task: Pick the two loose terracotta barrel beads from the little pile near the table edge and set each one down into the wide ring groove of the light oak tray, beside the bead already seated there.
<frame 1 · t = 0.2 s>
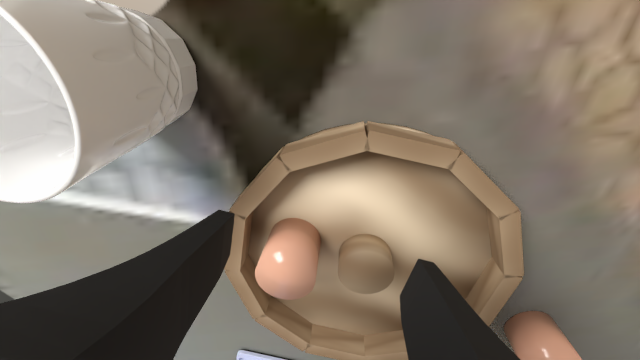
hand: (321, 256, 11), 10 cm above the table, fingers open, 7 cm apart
white cup: (149, 71, 19), on the table
bead c: (295, 239, 23), point 1 cm above the table, touching ring tray
ring tray: (364, 248, 23), on the table
bead b: (528, 326, 25), on the table
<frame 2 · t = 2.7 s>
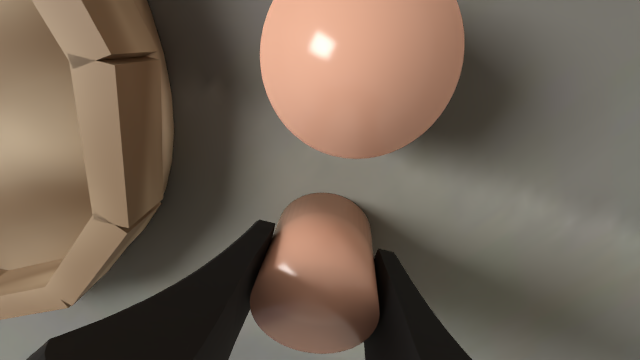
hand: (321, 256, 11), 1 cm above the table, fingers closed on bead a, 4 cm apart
bead b: (355, 54, 9), on the table
bead a: (323, 233, 13), on the table, touching gripper
when the fingers open (3 cm above the table, at t = 5.9 s): bead a drops 1 cm, resting on ring tray.
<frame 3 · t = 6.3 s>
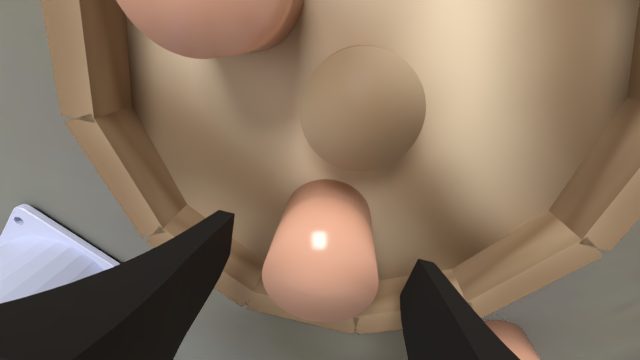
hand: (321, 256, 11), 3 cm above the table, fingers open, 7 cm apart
ring tray: (358, 98, 12), on the table
bead b: (490, 343, 17), on the table
bead a: (327, 217, 14), point 1 cm above the table, touching ring tray
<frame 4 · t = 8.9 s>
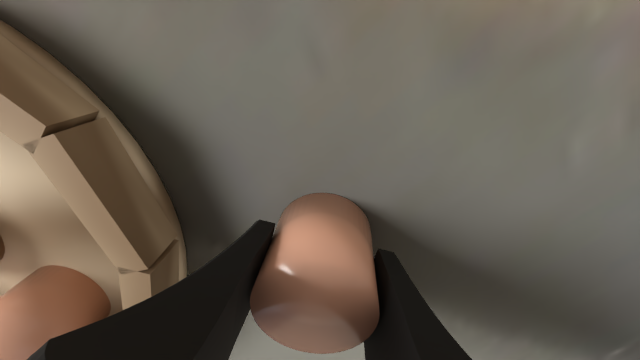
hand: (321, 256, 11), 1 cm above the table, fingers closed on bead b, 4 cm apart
bead b: (323, 233, 13), on the table, touching gripper
bead a: (71, 295, 15), point 1 cm above the table, touching ring tray
when the fingers open (3 cm above the table, at t = 12.3 s): bead b drops 1 cm, resting on ring tray.
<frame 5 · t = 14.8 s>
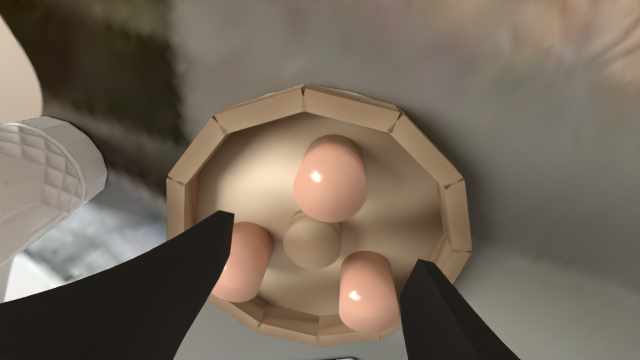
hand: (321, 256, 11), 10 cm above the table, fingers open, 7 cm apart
white cup: (67, 158, 22), on the table
bead c: (249, 242, 23), point 1 cm above the table, touching ring tray
ring tray: (316, 223, 23), on the table
bead b: (333, 163, 19), point 1 cm above the table, touching ring tray
bead a: (365, 270, 23), point 1 cm above the table, touching ring tray
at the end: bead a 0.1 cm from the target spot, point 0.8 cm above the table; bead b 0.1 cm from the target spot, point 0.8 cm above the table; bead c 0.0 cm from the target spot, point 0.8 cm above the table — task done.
